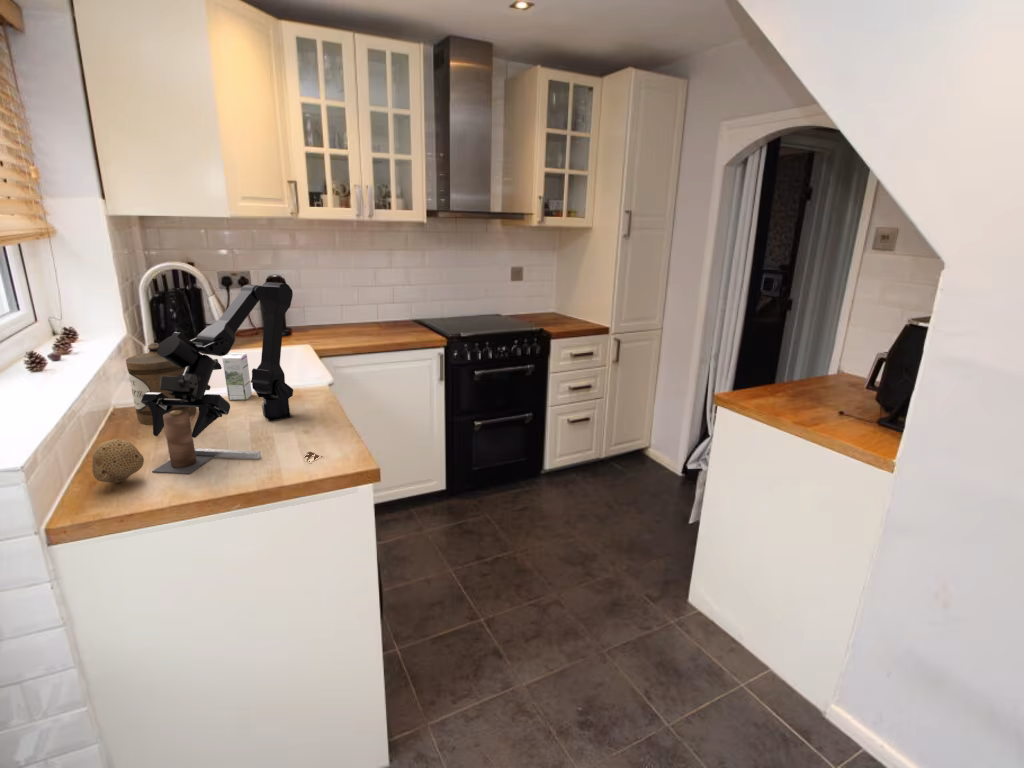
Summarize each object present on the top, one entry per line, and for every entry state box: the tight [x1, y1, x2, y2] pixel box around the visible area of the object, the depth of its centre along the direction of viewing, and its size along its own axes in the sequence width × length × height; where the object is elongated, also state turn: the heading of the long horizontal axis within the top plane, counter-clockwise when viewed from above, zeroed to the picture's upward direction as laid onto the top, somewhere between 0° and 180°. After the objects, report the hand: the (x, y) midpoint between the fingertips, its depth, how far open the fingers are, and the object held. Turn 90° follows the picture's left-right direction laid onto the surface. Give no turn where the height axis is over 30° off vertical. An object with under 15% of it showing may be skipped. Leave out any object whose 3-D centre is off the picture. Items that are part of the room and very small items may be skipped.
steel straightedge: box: [194, 447, 262, 460], centre depth 132 cm, size 18×2×2 cm, turn 86°
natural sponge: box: [91, 438, 145, 484], centre depth 118 cm, size 9×9×10 cm
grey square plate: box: [151, 456, 214, 475], centre depth 128 cm, size 9×9×1 cm
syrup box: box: [221, 352, 253, 401], centre depth 173 cm, size 6×6×14 cm
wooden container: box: [125, 342, 197, 426], centre depth 155 cm, size 15×15×22 cm
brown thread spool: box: [163, 410, 196, 468], centre depth 126 cm, size 5×5×13 cm
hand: (174, 436), depth 124 cm, fingers open, 9 cm apart
